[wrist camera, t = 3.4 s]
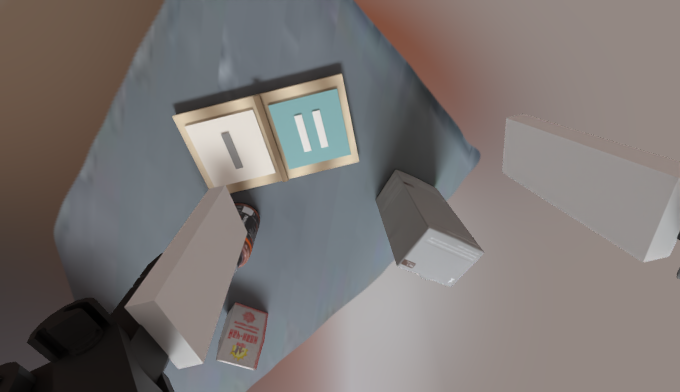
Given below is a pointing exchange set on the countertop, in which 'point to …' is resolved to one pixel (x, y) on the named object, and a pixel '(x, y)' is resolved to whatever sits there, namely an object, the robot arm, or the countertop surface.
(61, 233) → the countertop surface
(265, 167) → the cream pad
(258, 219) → the supplement bottle
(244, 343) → the white product box
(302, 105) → the teal pad
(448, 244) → the skincare box
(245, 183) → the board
